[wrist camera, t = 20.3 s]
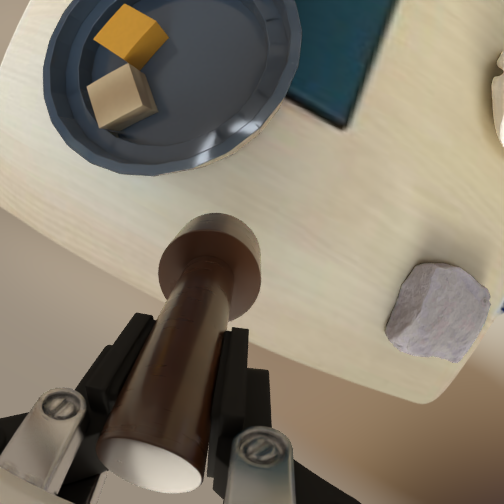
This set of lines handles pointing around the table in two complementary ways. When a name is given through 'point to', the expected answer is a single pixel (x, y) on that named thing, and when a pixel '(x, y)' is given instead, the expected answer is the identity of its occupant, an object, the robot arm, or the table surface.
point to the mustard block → (132, 36)
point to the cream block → (121, 98)
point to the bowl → (176, 80)
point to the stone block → (438, 312)
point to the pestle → (182, 357)
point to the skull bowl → (499, 100)
